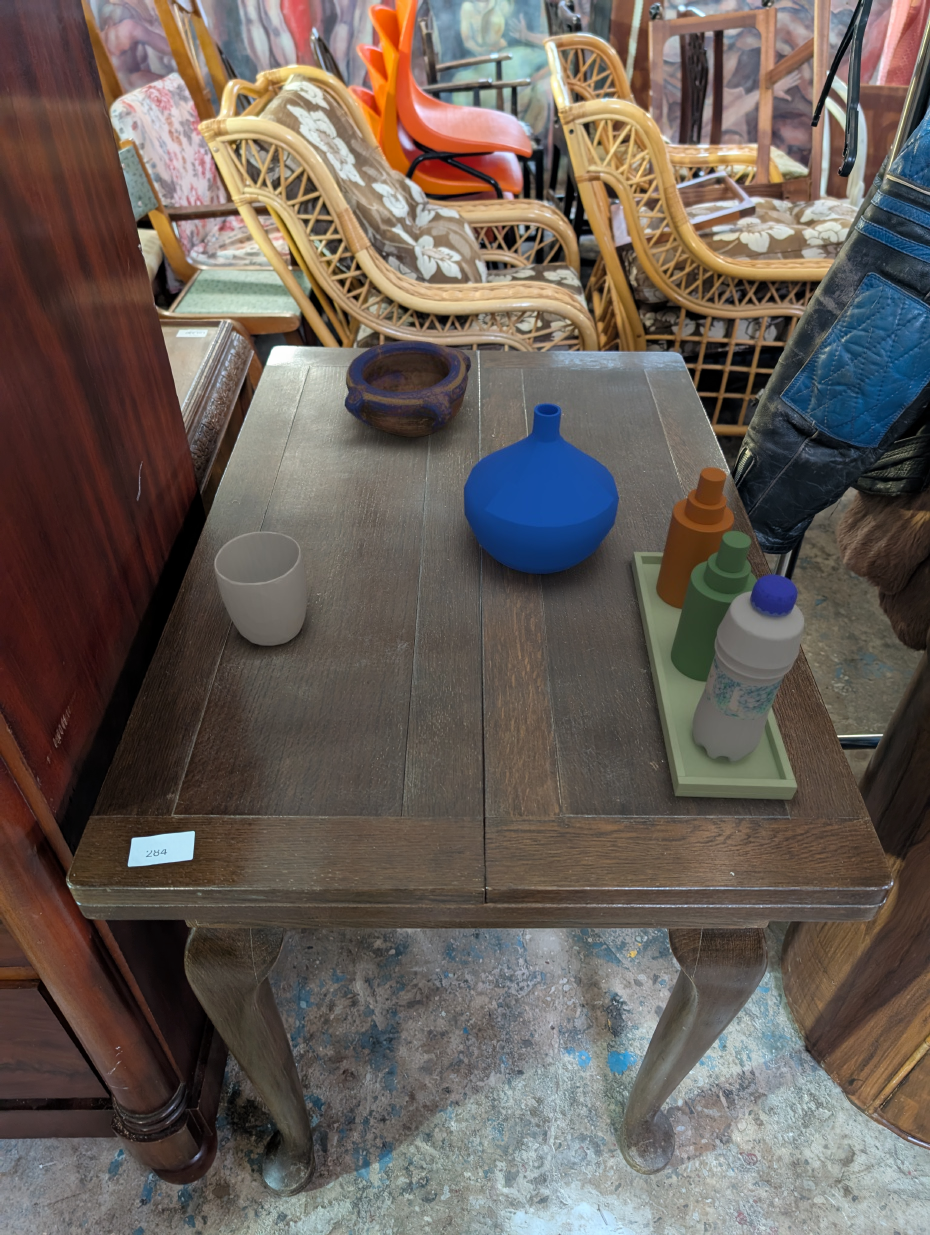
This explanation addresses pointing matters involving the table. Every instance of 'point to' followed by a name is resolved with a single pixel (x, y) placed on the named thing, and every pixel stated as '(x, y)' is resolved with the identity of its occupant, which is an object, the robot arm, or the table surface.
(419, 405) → the bowl
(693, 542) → the amber bottle
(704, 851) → the table surface
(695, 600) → the green bottle
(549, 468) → the vase
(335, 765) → the table surface
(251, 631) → the mug
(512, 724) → the table surface
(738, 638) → the bottle
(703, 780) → the tray
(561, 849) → the table surface
